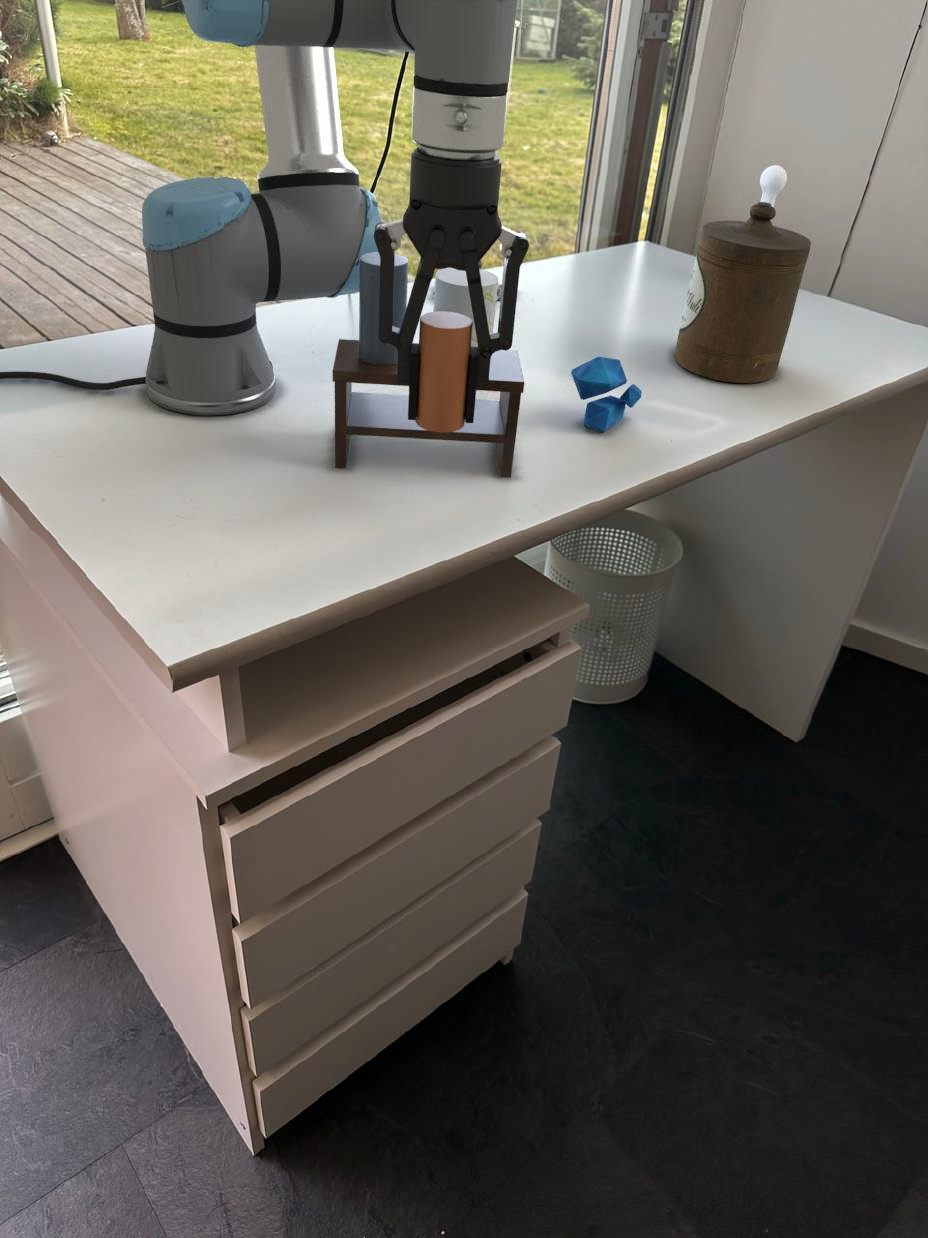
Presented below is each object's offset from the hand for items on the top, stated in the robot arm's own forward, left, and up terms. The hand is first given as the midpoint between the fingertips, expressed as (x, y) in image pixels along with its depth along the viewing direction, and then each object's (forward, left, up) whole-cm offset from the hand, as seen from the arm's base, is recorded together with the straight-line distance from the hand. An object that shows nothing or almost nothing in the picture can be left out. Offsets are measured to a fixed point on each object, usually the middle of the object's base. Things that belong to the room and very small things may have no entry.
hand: (440, 415), depth 89 cm
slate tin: (-6, +11, +1) cm, 13 cm away
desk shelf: (-1, +11, -10) cm, 15 cm away
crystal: (+21, +22, -10) cm, 32 cm away
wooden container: (+43, +45, -10) cm, 63 cm away
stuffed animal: (+7, +69, -10) cm, 70 cm away
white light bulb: (+57, +85, -10) cm, 103 cm away
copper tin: (0, 0, -1) cm, 1 cm away
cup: (+4, +38, -10) cm, 40 cm away
